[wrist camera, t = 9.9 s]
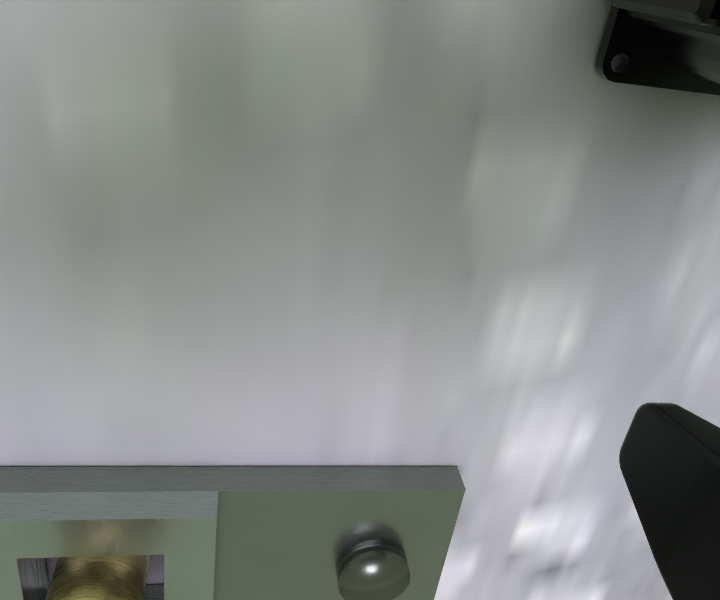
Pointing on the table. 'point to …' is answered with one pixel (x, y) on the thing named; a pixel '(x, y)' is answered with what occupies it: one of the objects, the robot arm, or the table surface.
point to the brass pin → (99, 578)
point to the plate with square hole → (237, 528)
